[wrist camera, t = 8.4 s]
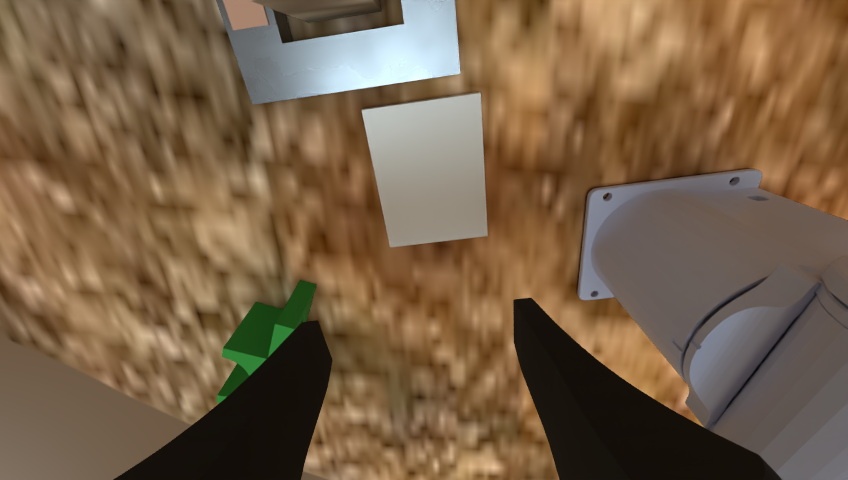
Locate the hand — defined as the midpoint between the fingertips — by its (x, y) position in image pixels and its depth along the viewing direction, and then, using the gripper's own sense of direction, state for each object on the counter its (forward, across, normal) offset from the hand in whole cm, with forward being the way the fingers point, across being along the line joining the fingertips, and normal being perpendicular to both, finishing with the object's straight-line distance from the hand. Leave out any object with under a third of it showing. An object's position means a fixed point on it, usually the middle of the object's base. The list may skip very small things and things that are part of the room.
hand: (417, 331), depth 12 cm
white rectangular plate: (+9, -1, -3) cm, 10 cm away
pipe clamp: (+10, +12, +8) cm, 17 cm away
